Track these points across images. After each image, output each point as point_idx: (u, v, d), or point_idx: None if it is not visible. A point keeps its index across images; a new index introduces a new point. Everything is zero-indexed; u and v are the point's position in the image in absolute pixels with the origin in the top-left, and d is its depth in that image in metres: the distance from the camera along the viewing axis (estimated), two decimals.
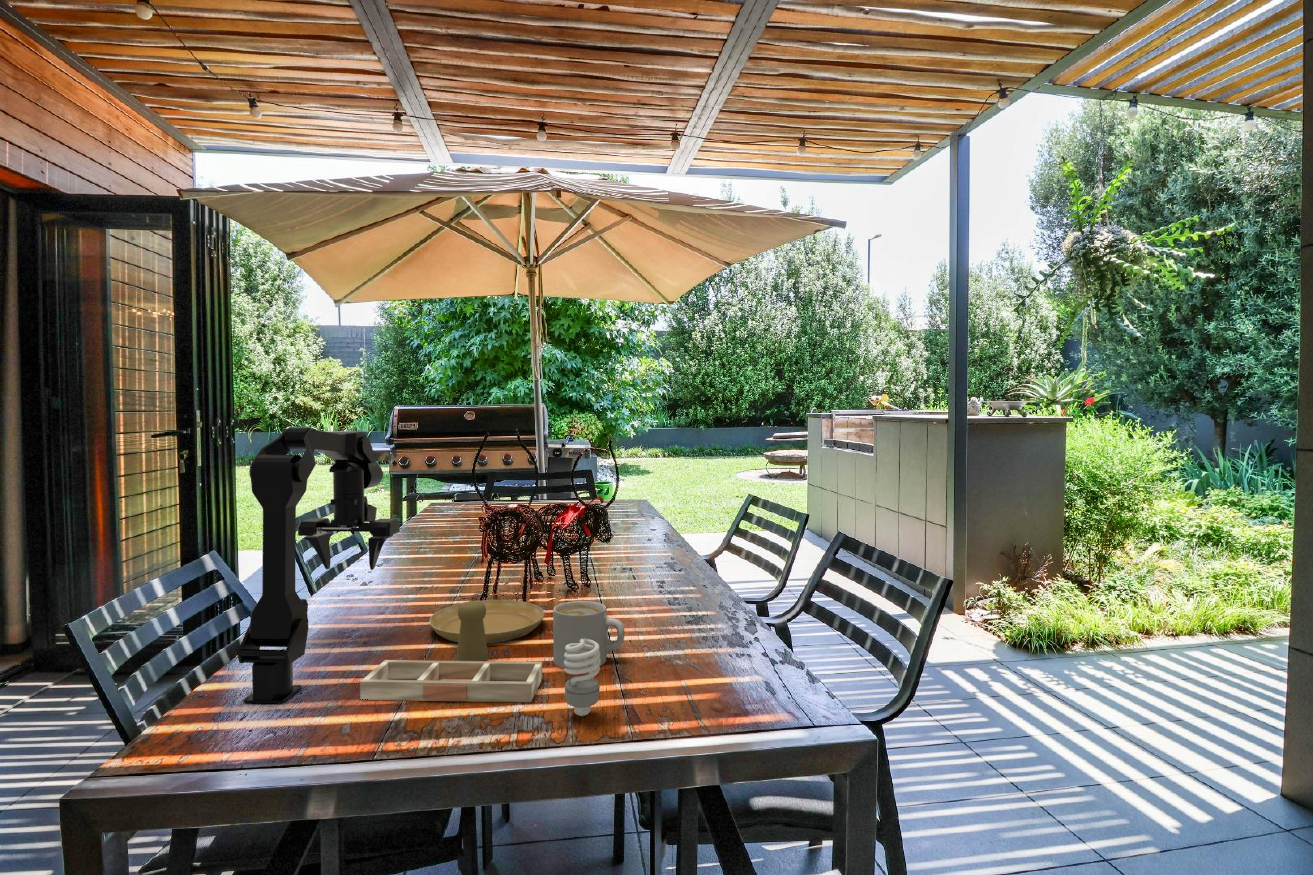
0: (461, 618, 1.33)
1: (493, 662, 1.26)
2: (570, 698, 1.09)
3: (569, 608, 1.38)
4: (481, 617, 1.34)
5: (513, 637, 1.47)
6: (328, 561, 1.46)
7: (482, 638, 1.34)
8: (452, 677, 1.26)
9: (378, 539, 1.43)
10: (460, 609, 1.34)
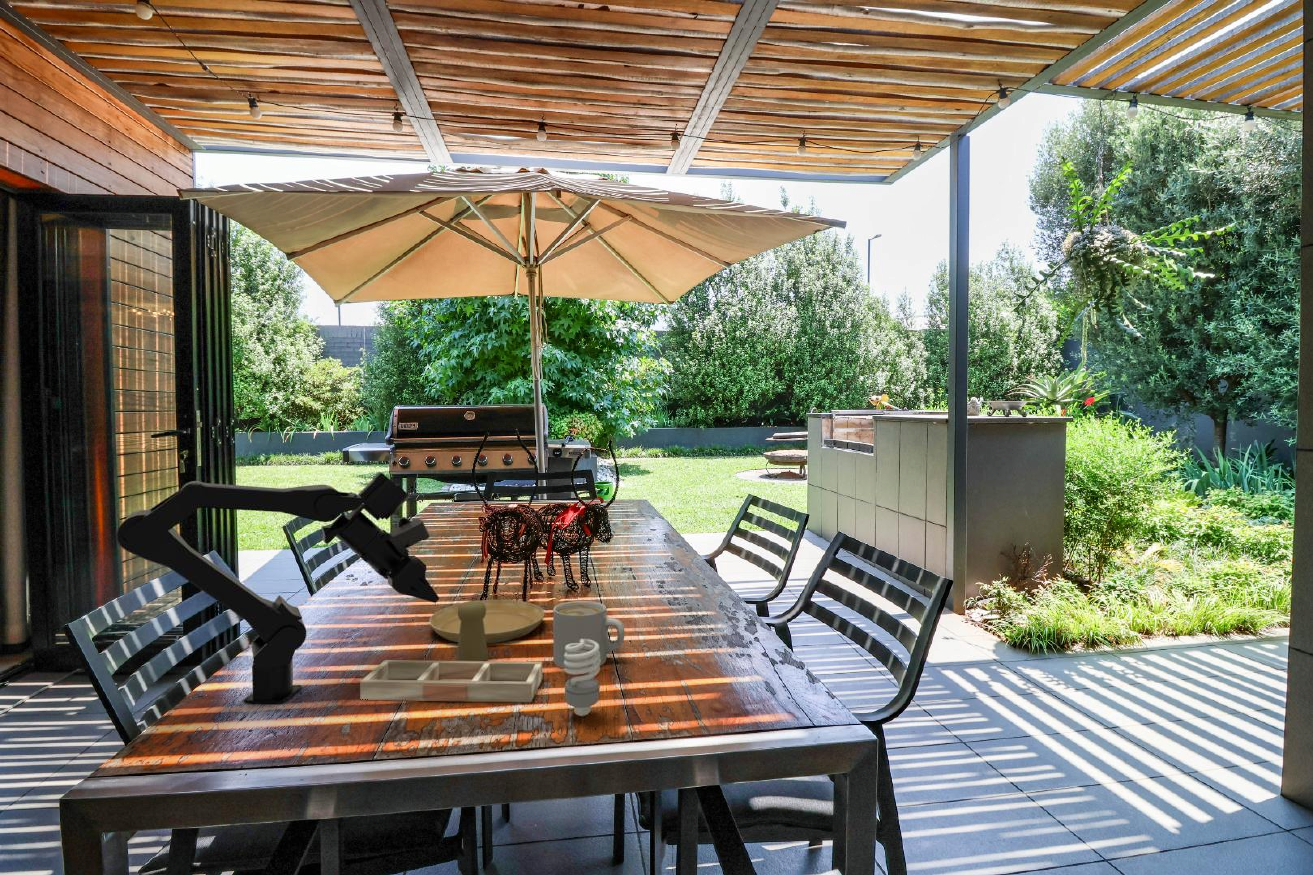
0: (461, 618, 1.33)
1: (493, 662, 1.26)
2: (570, 698, 1.09)
3: (569, 608, 1.38)
4: (481, 617, 1.34)
5: (513, 637, 1.47)
6: None
7: (482, 638, 1.34)
8: (452, 677, 1.26)
9: (401, 593, 1.22)
10: (460, 609, 1.34)
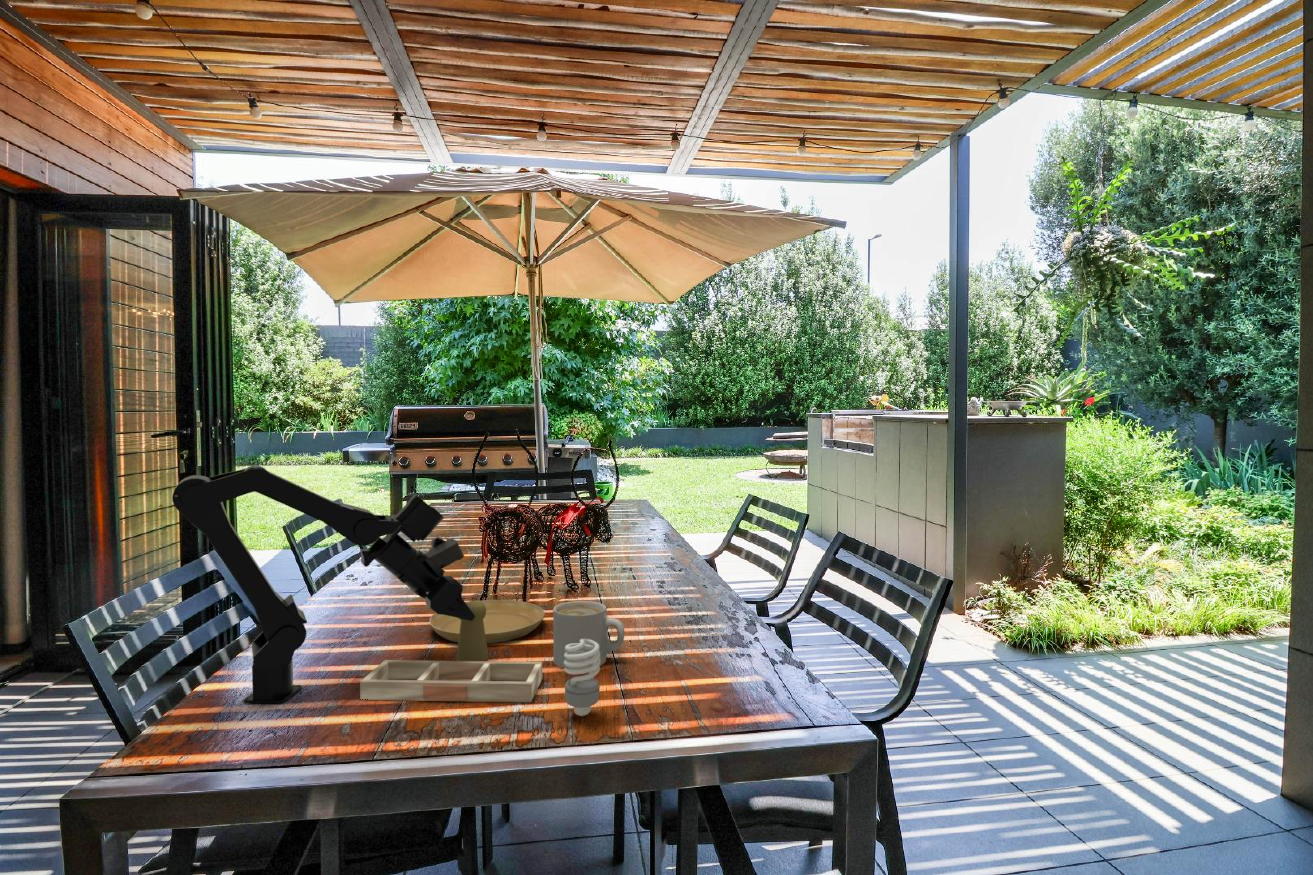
0: None
1: (493, 662, 1.26)
2: (570, 698, 1.09)
3: (569, 608, 1.38)
4: (481, 617, 1.34)
5: (513, 637, 1.47)
6: None
7: (482, 638, 1.34)
8: (452, 677, 1.26)
9: (439, 613, 1.25)
10: None
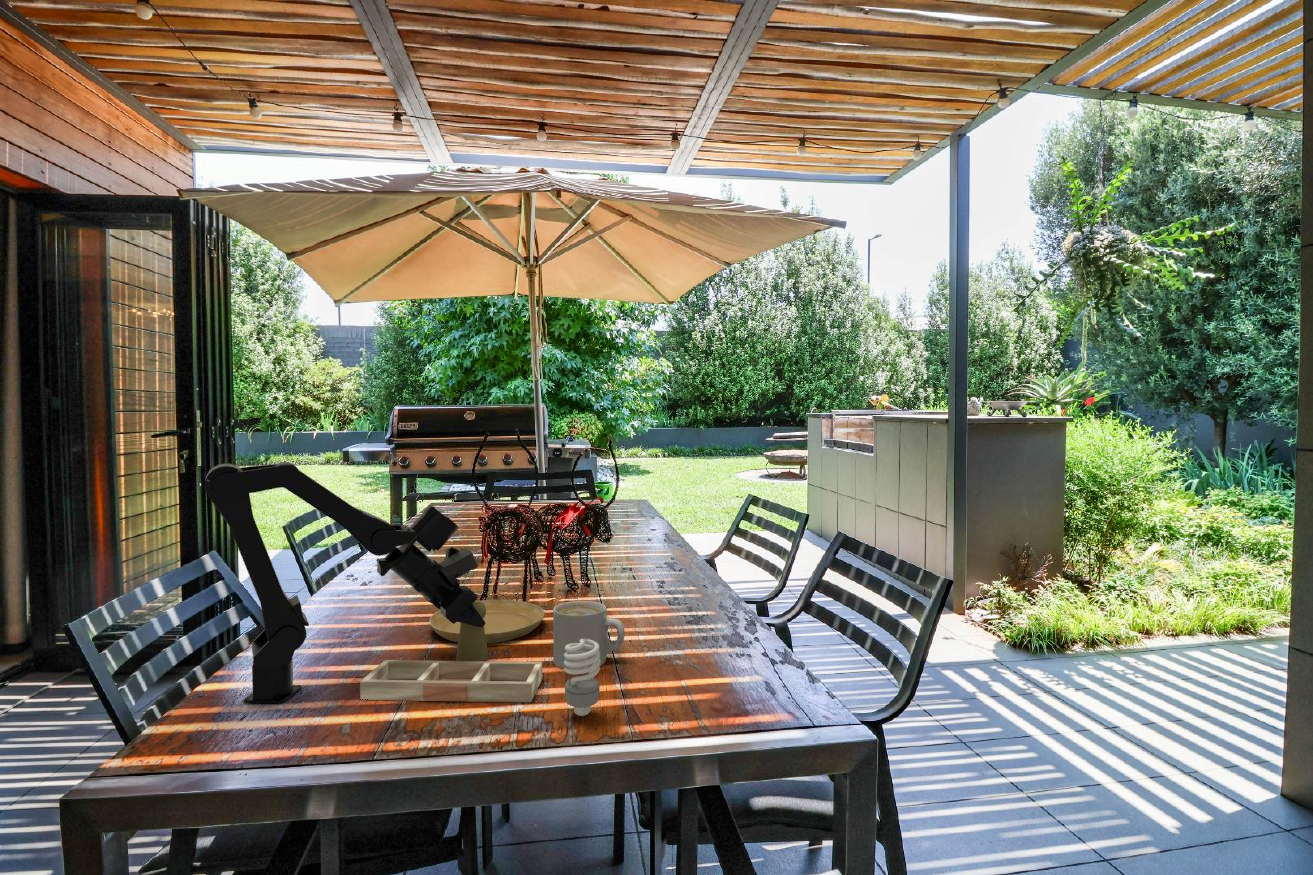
0: None
1: (493, 662, 1.26)
2: (570, 698, 1.09)
3: (569, 608, 1.38)
4: None
5: (513, 637, 1.47)
6: None
7: (482, 638, 1.34)
8: (452, 677, 1.26)
9: None
10: None
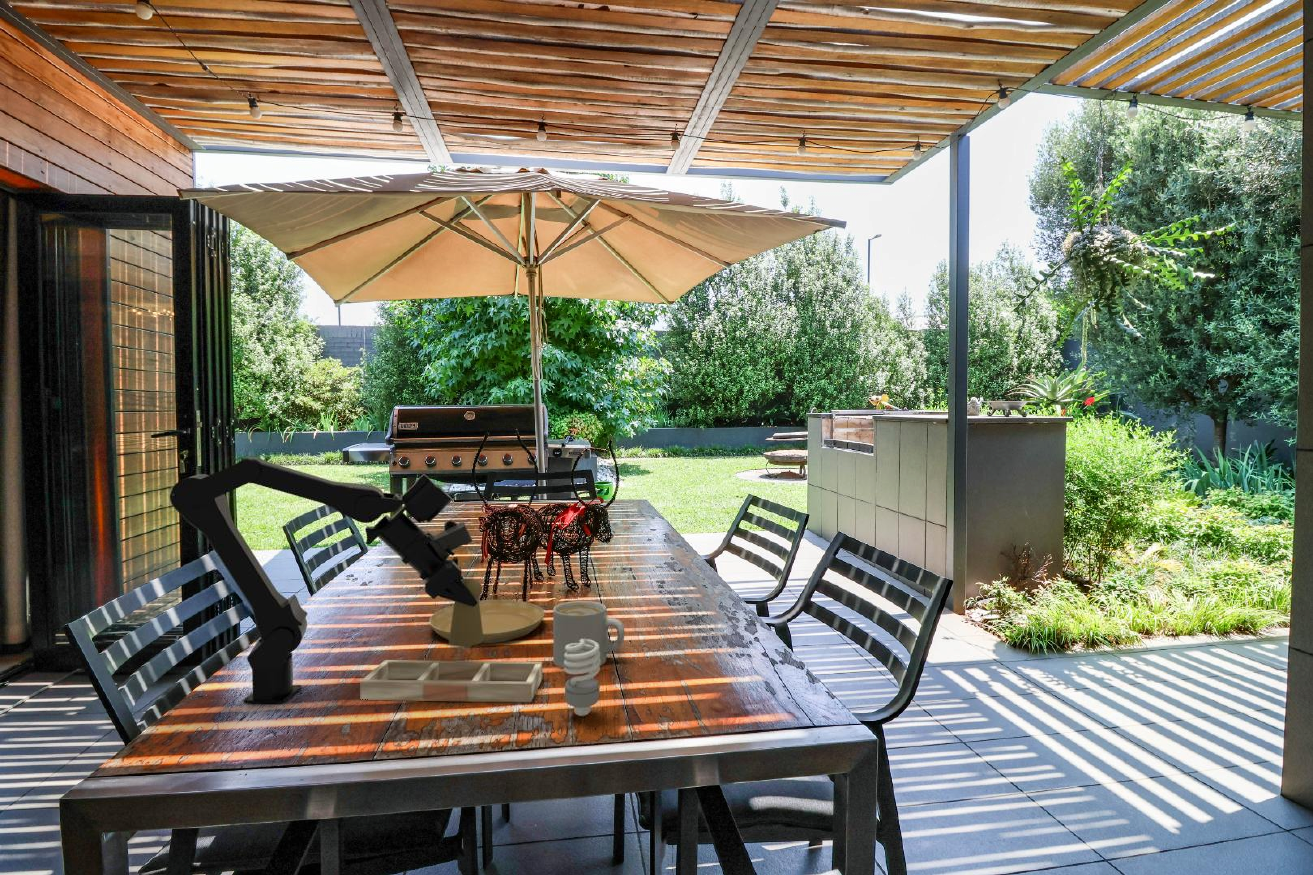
0: None
1: (493, 662, 1.26)
2: (570, 698, 1.09)
3: (569, 608, 1.38)
4: (474, 596, 1.26)
5: (513, 637, 1.47)
6: None
7: (475, 618, 1.27)
8: (452, 677, 1.26)
9: None
10: None
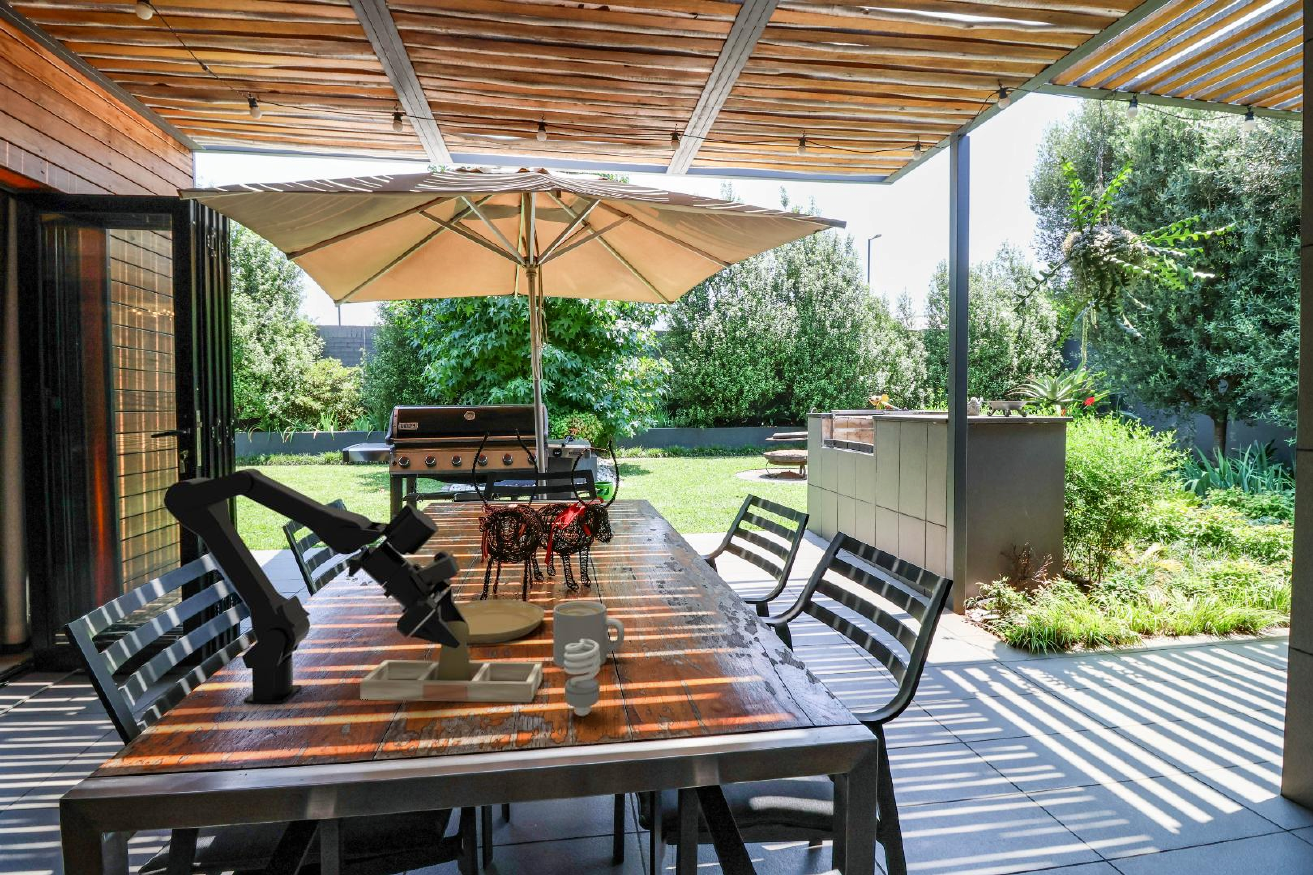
0: None
1: (493, 662, 1.26)
2: (570, 698, 1.09)
3: (569, 608, 1.38)
4: None
5: (513, 637, 1.47)
6: None
7: (459, 665, 1.20)
8: None
9: None
10: None
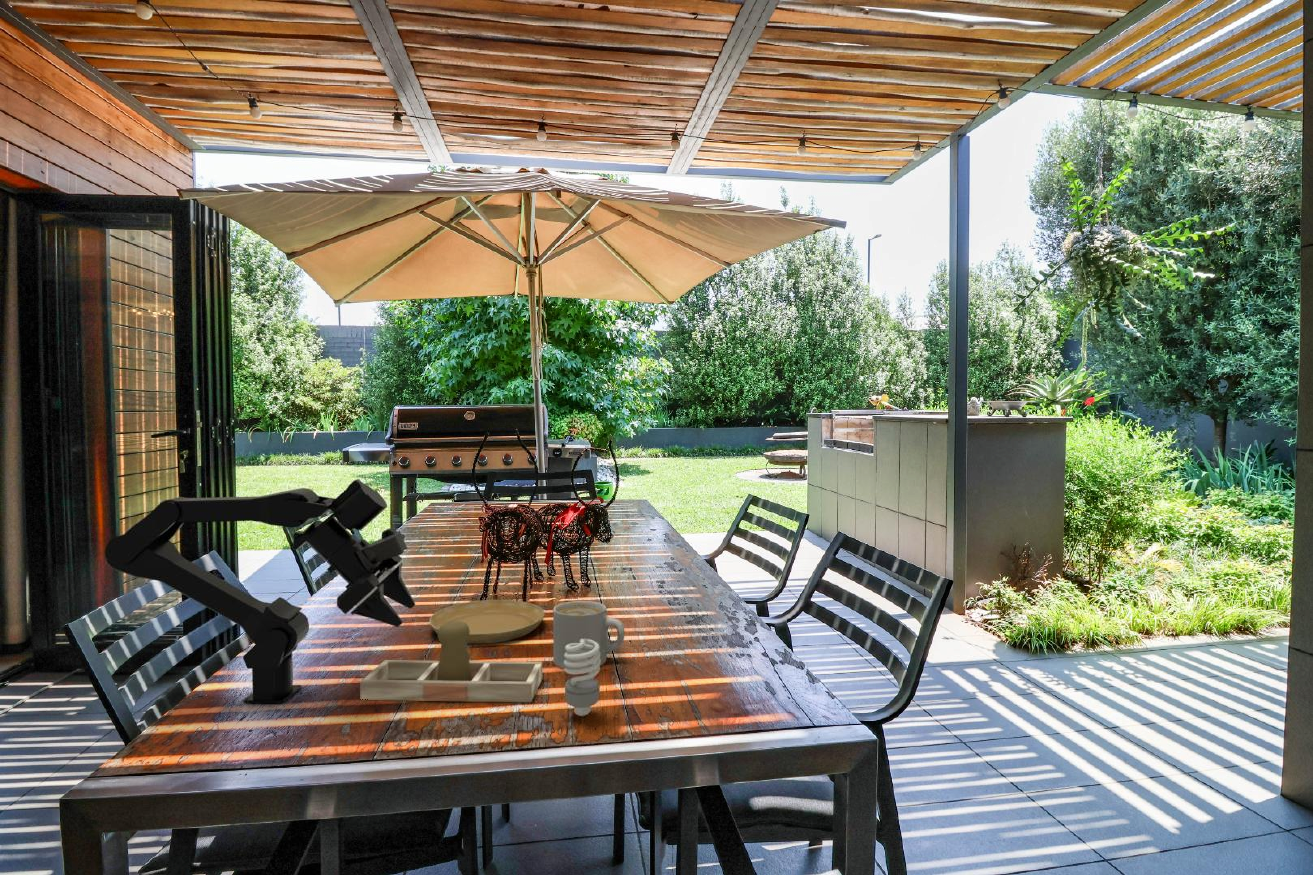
0: (439, 639, 1.20)
1: (493, 662, 1.26)
2: (570, 698, 1.09)
3: (569, 608, 1.38)
4: (458, 641, 1.19)
5: (513, 637, 1.47)
6: (406, 600, 1.25)
7: (460, 665, 1.20)
8: None
9: None
10: (439, 629, 1.21)
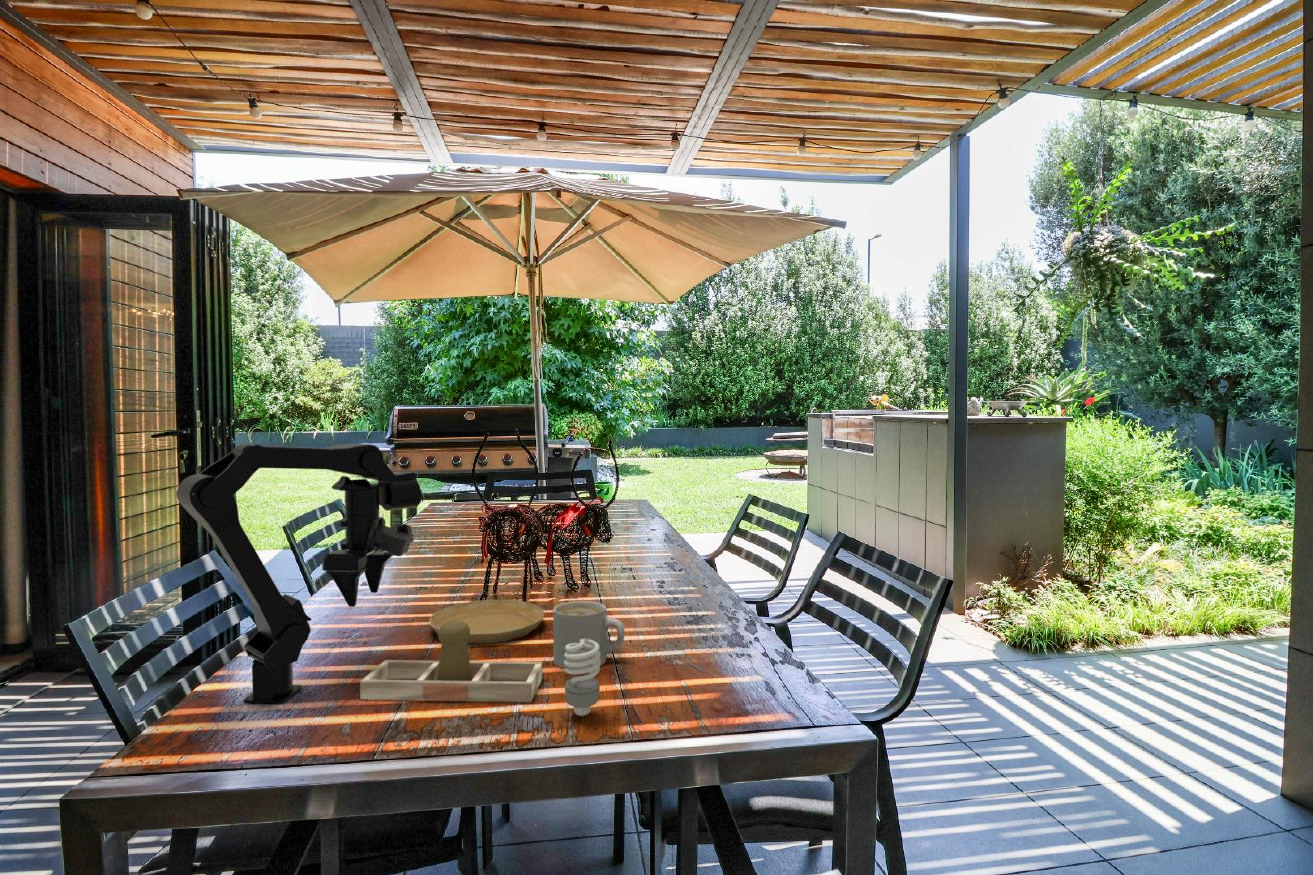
0: (439, 639, 1.20)
1: (493, 662, 1.26)
2: (570, 698, 1.09)
3: (569, 608, 1.38)
4: (459, 641, 1.19)
5: (513, 637, 1.47)
6: (373, 584, 1.34)
7: (460, 665, 1.20)
8: None
9: None
10: (439, 629, 1.21)
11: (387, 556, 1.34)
